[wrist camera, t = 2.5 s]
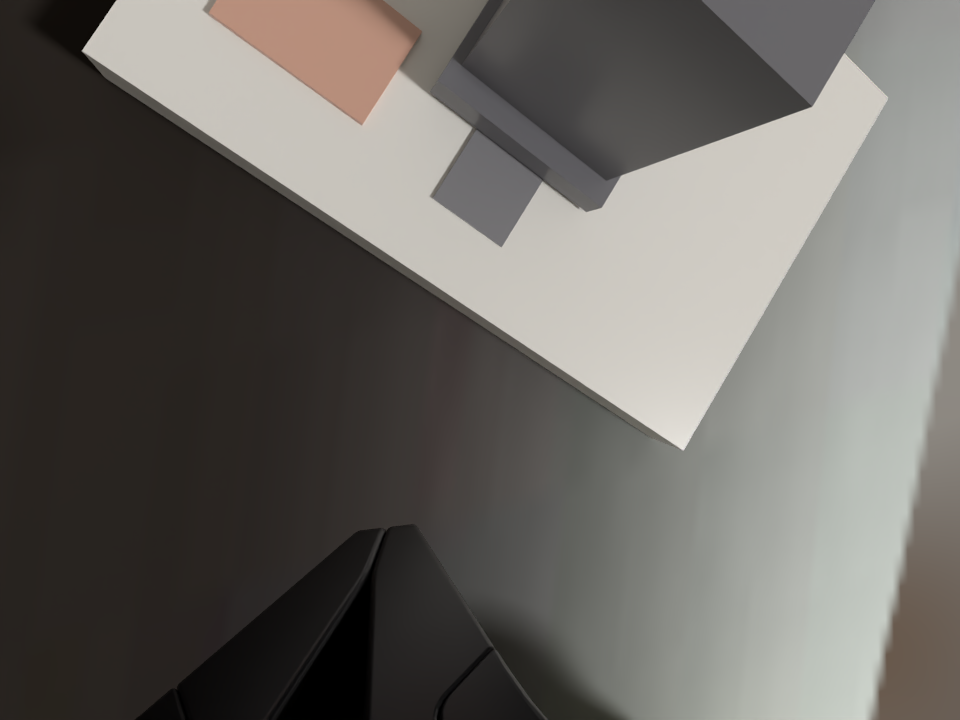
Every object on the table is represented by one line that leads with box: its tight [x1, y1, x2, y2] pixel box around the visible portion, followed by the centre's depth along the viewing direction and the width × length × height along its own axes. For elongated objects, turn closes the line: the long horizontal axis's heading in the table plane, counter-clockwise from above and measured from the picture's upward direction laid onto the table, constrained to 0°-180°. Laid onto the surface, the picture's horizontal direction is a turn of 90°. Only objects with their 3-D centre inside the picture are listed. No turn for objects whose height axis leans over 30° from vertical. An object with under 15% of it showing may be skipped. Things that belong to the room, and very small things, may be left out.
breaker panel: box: [82, 0, 888, 450], centre depth 20 cm, size 14×20×2 cm
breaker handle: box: [430, 0, 875, 212], centre depth 14 cm, size 4×6×8 cm
